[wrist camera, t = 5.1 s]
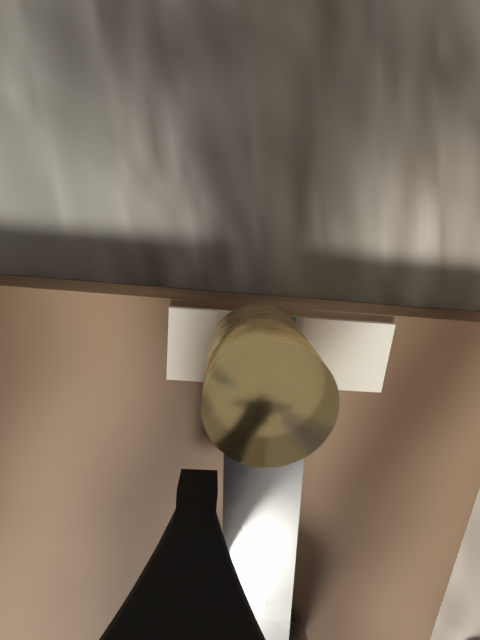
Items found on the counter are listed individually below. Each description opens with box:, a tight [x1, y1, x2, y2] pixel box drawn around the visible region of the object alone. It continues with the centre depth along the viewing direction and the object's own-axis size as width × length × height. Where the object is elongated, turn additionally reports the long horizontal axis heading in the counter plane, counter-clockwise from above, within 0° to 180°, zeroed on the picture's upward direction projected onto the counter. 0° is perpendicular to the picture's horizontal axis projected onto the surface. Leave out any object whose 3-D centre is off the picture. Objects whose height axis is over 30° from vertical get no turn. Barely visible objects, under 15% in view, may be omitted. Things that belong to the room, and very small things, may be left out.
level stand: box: [0, 274, 480, 640], centre depth 12 cm, size 20×18×2 cm
